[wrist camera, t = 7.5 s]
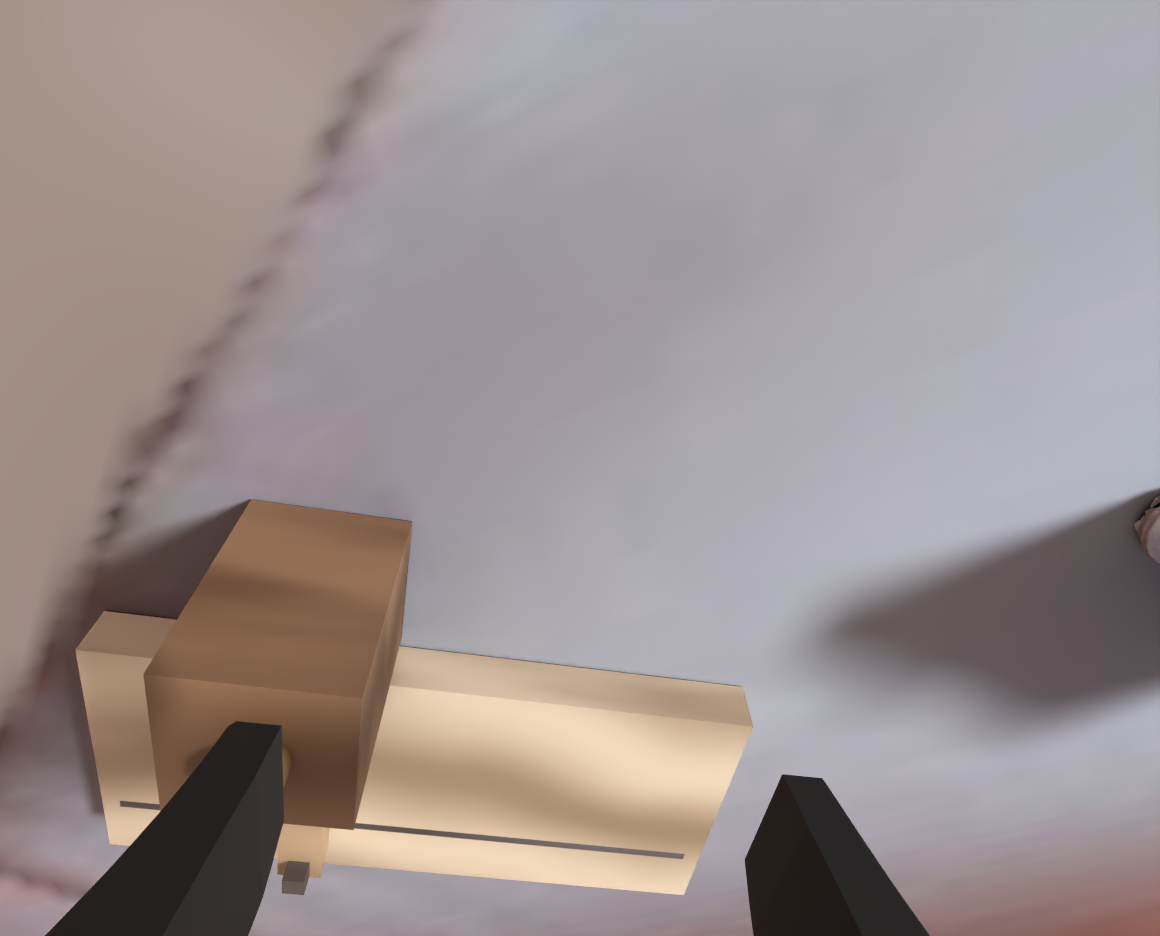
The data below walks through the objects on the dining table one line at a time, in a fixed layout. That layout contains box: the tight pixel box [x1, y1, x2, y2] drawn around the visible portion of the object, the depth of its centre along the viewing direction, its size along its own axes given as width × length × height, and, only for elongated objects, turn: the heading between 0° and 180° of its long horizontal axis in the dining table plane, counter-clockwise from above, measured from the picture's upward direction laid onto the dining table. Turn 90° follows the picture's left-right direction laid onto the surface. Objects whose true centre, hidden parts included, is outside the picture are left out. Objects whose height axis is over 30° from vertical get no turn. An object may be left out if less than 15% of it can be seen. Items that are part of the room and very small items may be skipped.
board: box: [75, 611, 753, 895], centre depth 24 cm, size 8×18×2 cm, turn 80°
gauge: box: [143, 500, 412, 895], centre depth 20 cm, size 11×4×7 cm, turn 170°
